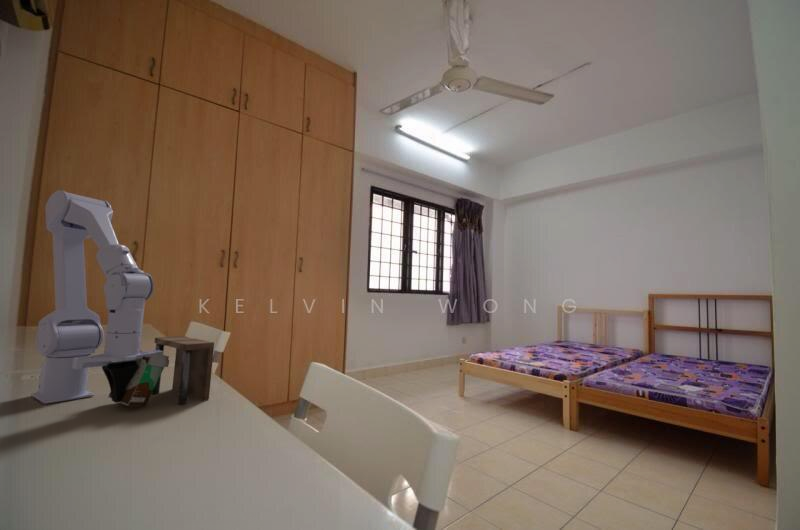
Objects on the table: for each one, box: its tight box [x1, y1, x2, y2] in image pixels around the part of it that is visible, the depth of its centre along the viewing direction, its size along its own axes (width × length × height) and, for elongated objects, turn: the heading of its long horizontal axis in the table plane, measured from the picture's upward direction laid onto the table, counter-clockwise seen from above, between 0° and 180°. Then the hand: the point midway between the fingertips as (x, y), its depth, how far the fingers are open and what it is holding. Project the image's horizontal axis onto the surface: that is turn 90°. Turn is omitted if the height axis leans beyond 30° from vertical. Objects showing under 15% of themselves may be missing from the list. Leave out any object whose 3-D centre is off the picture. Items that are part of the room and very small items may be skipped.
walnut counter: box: [151, 335, 215, 406], centre depth 82 cm, size 14×6×13 cm, turn 58°
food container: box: [107, 354, 170, 407], centre depth 76 cm, size 12×6×10 cm, turn 58°
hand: (116, 401), depth 72 cm, fingers closed, pressing on food container
